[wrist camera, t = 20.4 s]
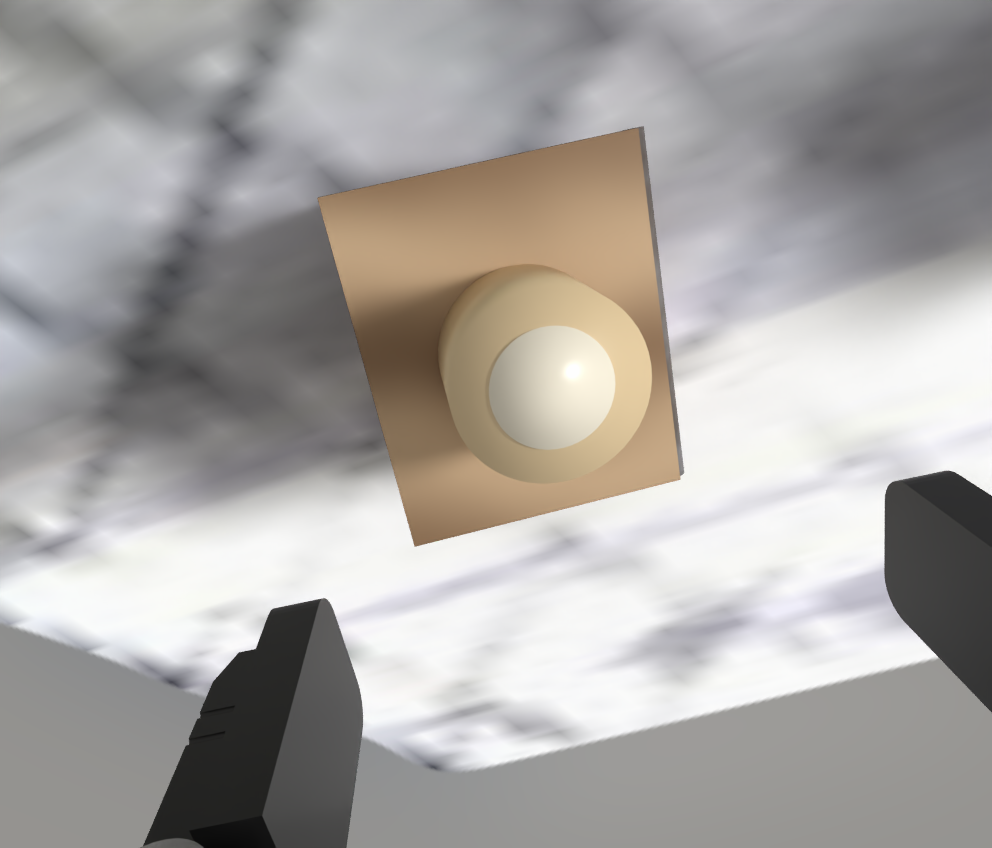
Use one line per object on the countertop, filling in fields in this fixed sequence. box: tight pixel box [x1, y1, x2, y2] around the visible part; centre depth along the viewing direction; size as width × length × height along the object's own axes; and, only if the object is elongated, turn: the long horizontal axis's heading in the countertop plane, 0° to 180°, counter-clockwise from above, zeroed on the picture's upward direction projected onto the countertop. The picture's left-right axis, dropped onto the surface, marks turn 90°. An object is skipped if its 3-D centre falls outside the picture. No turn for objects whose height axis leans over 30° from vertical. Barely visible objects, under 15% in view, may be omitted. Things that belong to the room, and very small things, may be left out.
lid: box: [318, 126, 684, 546], centre depth 23 cm, size 12×10×1 cm
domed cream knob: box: [438, 264, 652, 484], centre depth 21 cm, size 6×6×4 cm
